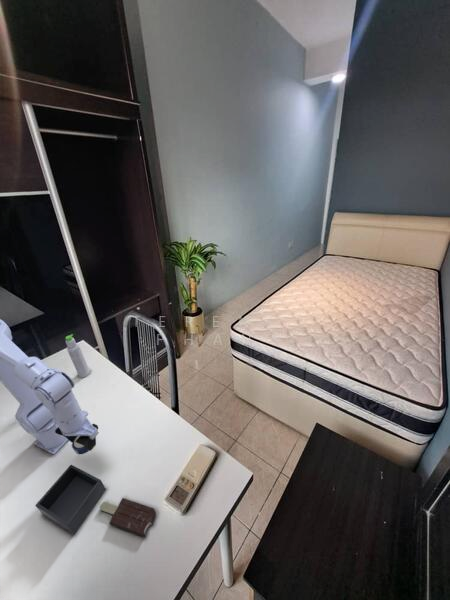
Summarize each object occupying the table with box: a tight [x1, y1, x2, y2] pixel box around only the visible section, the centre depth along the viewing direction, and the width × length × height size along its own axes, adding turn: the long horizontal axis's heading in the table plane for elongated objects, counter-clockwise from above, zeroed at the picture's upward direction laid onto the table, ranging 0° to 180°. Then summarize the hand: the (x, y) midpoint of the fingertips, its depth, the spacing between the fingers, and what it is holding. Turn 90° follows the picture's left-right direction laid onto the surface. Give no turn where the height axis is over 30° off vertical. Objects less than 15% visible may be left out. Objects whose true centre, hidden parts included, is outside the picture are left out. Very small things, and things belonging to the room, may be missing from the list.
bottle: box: [65, 333, 91, 378], centre depth 102 cm, size 4×4×20 cm
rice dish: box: [71, 436, 90, 455], centre depth 71 cm, size 6×6×3 cm
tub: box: [34, 464, 107, 536], centre depth 64 cm, size 11×10×5 cm
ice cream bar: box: [99, 497, 157, 538], centre depth 62 cm, size 5×2×15 cm
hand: (84, 443), depth 71 cm, fingers closed on rice dish, 5 cm apart
